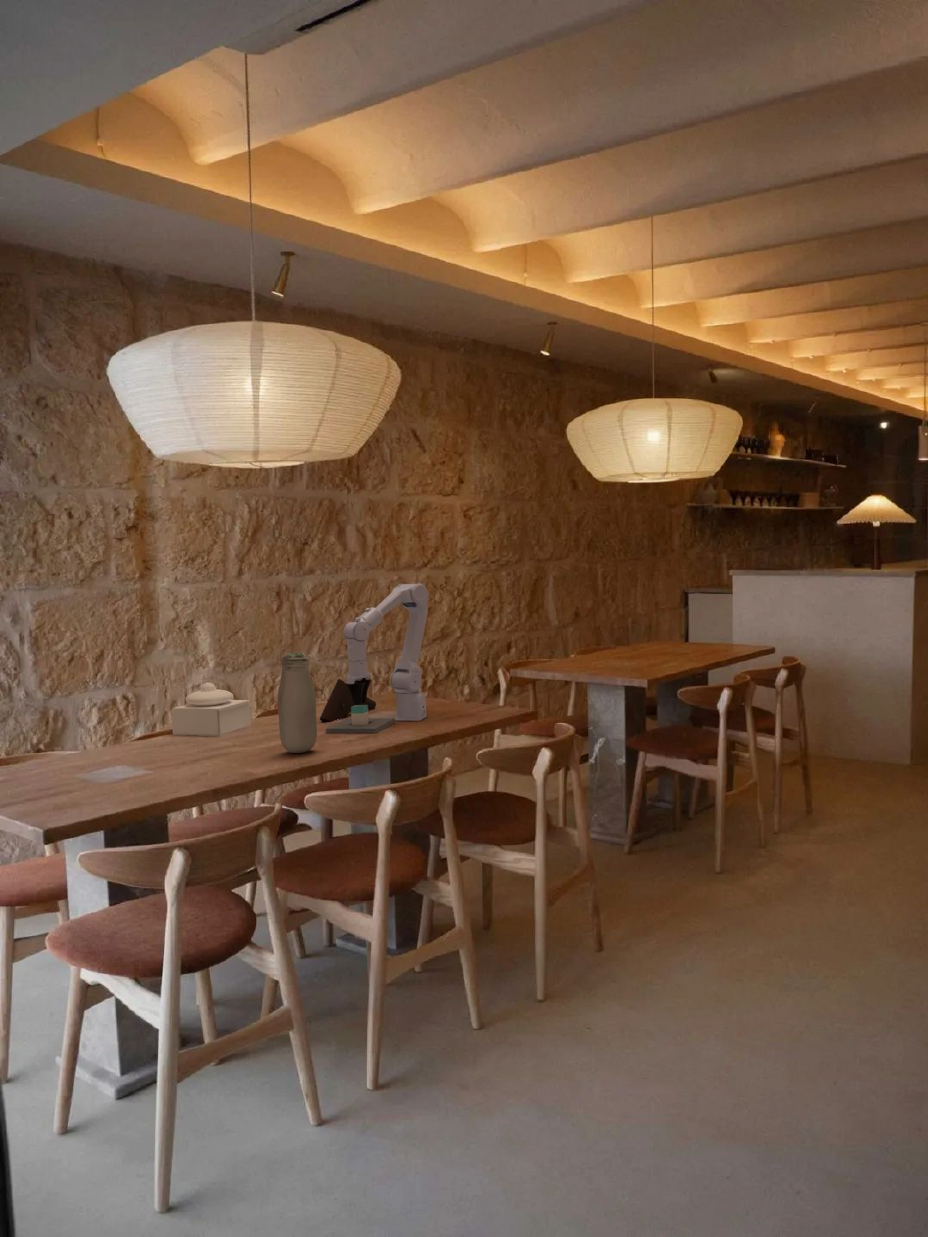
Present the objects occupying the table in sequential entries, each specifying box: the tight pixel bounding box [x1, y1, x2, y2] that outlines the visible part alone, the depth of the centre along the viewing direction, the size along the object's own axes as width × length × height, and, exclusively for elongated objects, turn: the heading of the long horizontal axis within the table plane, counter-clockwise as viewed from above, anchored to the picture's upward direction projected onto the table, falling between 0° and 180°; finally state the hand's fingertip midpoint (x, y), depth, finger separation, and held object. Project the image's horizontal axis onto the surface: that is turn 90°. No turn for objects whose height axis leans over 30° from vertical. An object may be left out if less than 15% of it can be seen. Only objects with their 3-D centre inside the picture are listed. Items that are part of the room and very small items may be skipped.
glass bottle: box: [277, 651, 318, 754], centre depth 275 cm, size 10×10×28 cm
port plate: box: [325, 717, 396, 735], centre depth 310 cm, size 16×18×2 cm
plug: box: [350, 705, 369, 725], centre depth 310 cm, size 4×4×7 cm
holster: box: [319, 678, 377, 722], centre depth 337 cm, size 5×16×25 cm
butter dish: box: [170, 682, 252, 737], centre depth 318 cm, size 18×18×16 cm
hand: (359, 704), depth 310 cm, fingers open, 3 cm apart
